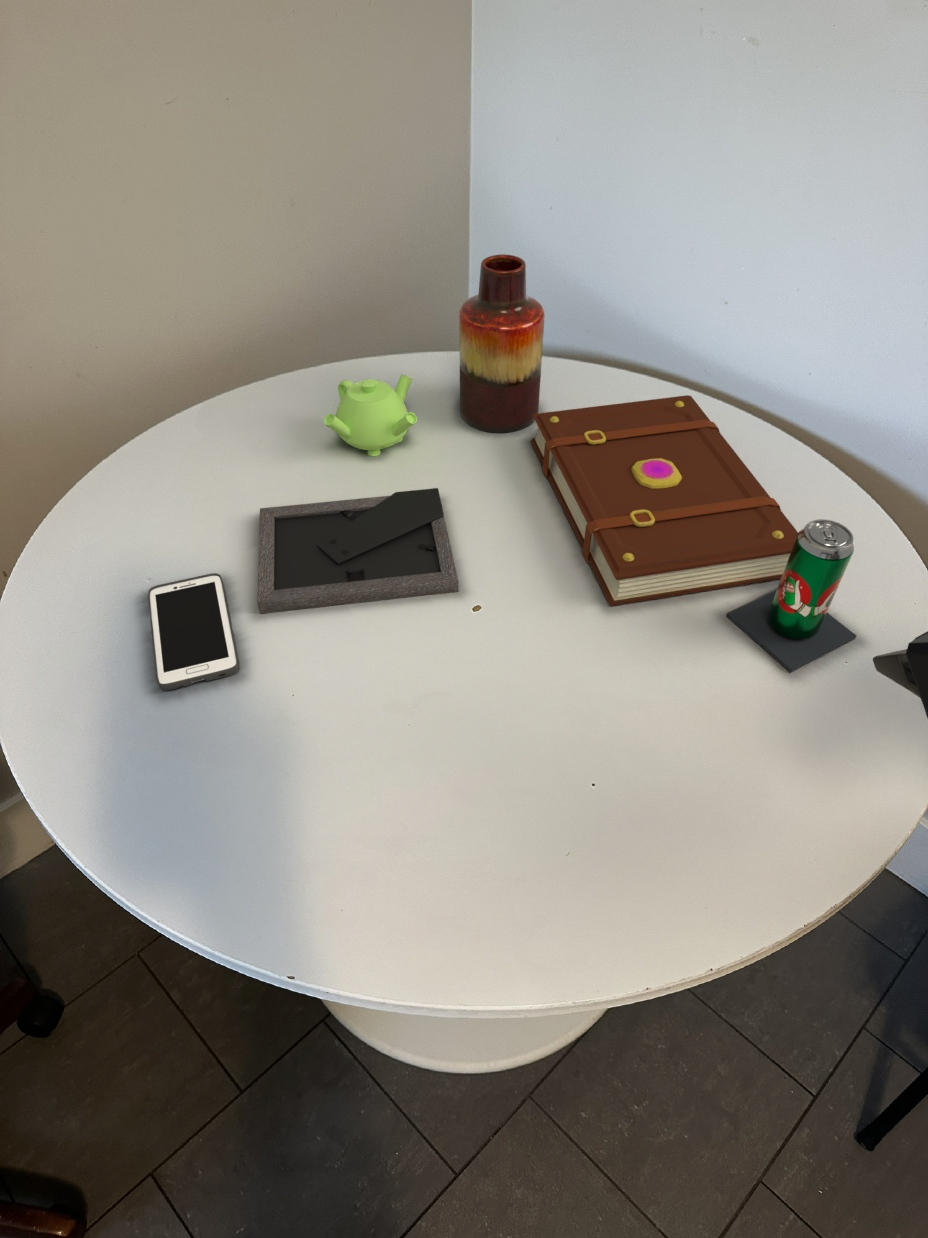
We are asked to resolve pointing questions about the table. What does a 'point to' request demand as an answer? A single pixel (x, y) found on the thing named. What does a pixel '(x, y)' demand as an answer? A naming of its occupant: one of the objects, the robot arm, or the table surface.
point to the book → (660, 499)
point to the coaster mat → (784, 649)
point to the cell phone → (191, 632)
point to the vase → (500, 349)
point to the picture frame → (354, 551)
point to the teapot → (372, 414)
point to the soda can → (811, 578)
